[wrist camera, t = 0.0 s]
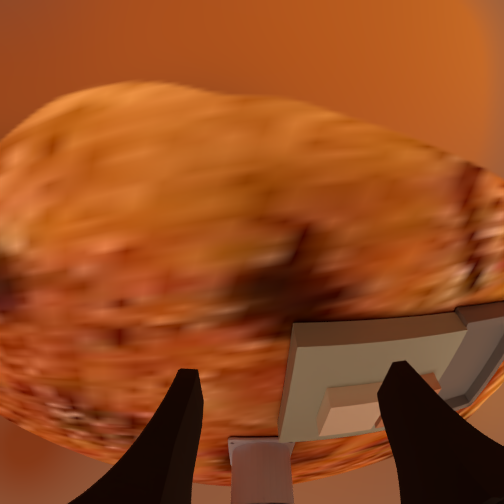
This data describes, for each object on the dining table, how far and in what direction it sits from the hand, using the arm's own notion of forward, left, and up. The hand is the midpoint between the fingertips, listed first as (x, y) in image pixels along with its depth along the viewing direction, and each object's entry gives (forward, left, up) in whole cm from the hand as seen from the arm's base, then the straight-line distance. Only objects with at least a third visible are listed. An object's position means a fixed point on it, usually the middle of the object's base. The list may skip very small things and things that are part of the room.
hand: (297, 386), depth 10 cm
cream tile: (-13, -7, -7) cm, 17 cm away
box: (-13, -22, -10) cm, 27 cm away
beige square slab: (-13, -9, -10) cm, 19 cm away
